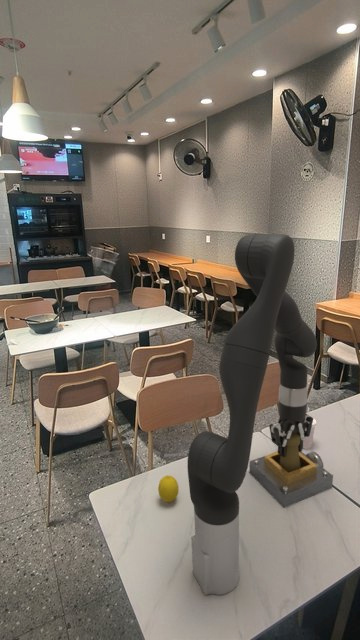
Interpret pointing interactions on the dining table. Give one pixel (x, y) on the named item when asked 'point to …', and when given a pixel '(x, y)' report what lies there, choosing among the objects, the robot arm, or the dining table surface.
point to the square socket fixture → (291, 477)
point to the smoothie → (308, 440)
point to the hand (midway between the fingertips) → (290, 452)
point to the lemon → (168, 488)
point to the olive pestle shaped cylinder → (291, 454)
